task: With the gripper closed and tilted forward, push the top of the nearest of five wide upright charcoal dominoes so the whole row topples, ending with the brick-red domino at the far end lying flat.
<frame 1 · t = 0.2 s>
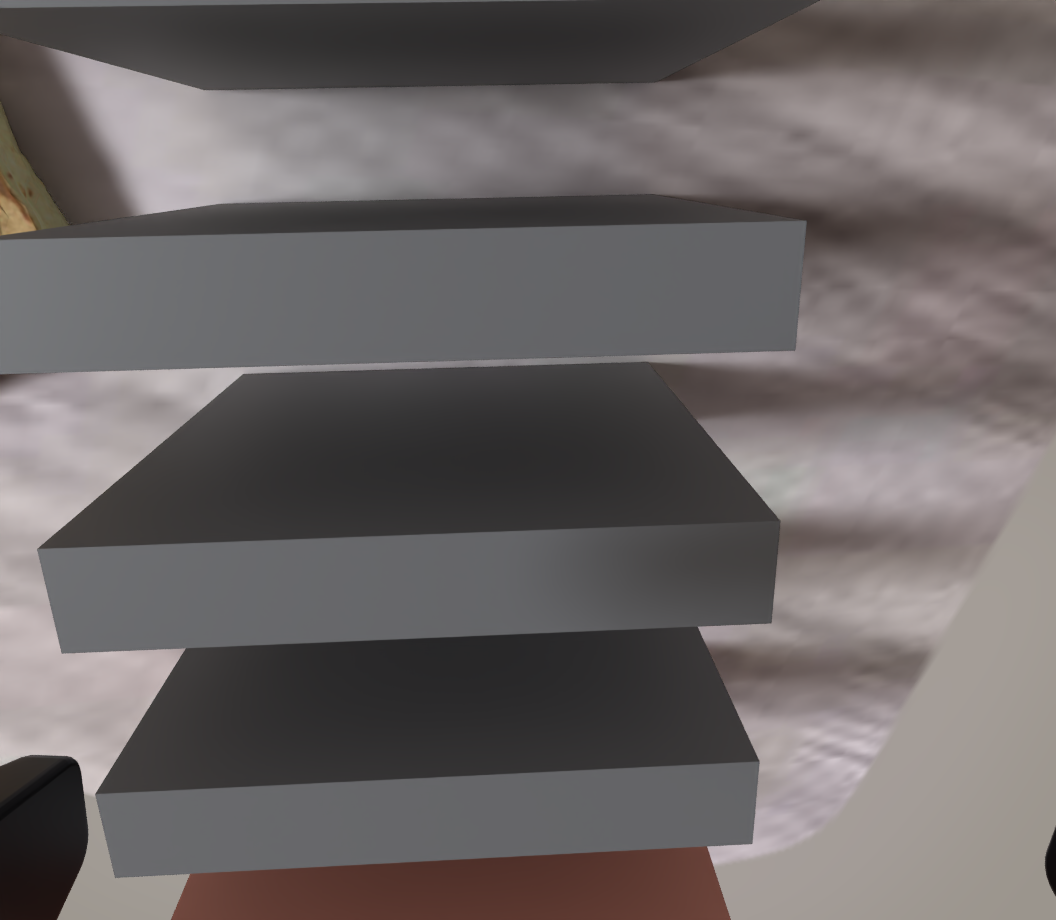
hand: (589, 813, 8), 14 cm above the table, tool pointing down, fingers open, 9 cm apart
domino 4: (456, 543, 22), on the table
domino 1: (430, 46, 18), on the table
domino 3: (448, 399, 21), on the table
domino 2: (440, 234, 20), on the table
domino 5: (463, 672, 24), on the table
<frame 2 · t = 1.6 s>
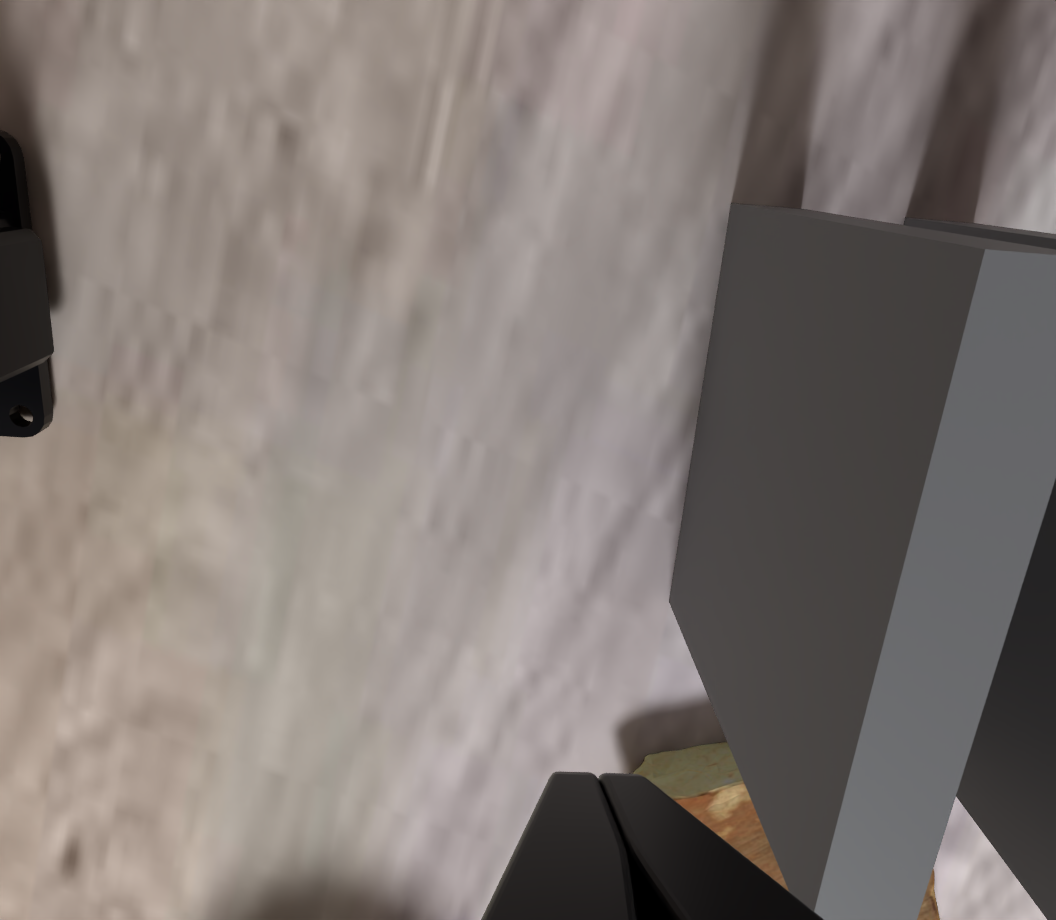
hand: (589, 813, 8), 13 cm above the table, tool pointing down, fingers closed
domino 1: (729, 420, 20), on the table
domino 2: (888, 431, 20), on the table
shard: (821, 827, 26), on the table
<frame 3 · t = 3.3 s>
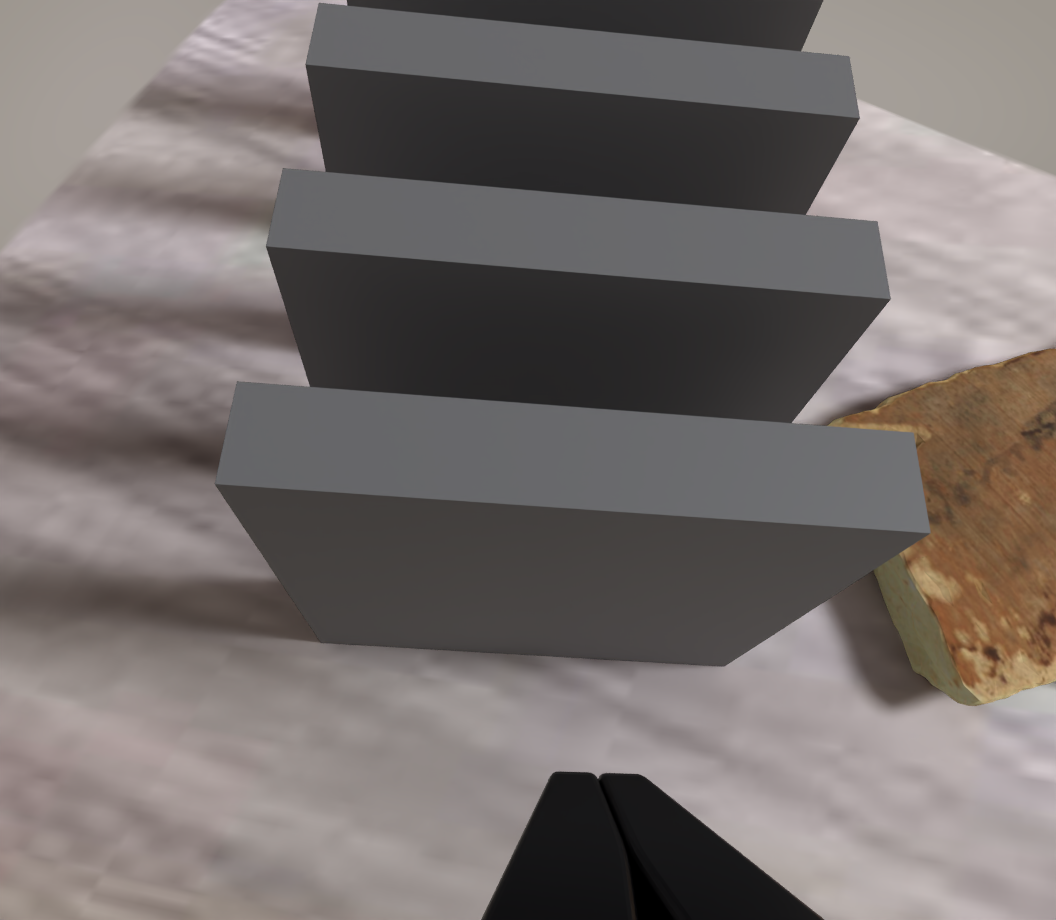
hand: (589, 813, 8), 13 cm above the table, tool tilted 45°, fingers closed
domino 4: (542, 242, 26), on the table
domino 1: (526, 623, 21), on the table
domino 3: (538, 351, 24), on the table
domino 2: (532, 477, 23), on the table
shard: (966, 475, 25), on the table
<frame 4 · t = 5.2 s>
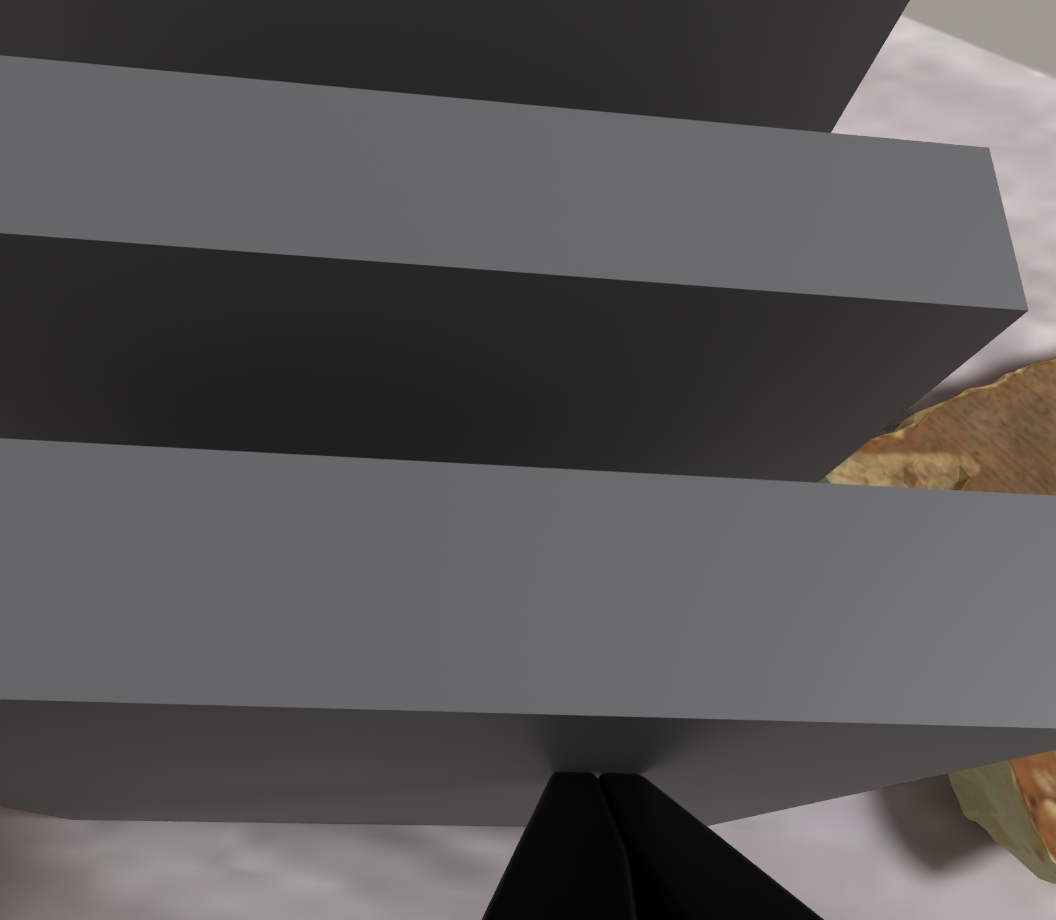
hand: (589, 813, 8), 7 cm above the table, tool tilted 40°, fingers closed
domino 1: (397, 772, 14), on the table, tilted 5°
domino 3: (427, 354, 17), on the table
domino 2: (413, 543, 16), on the table
shard: (1016, 510, 18), on the table
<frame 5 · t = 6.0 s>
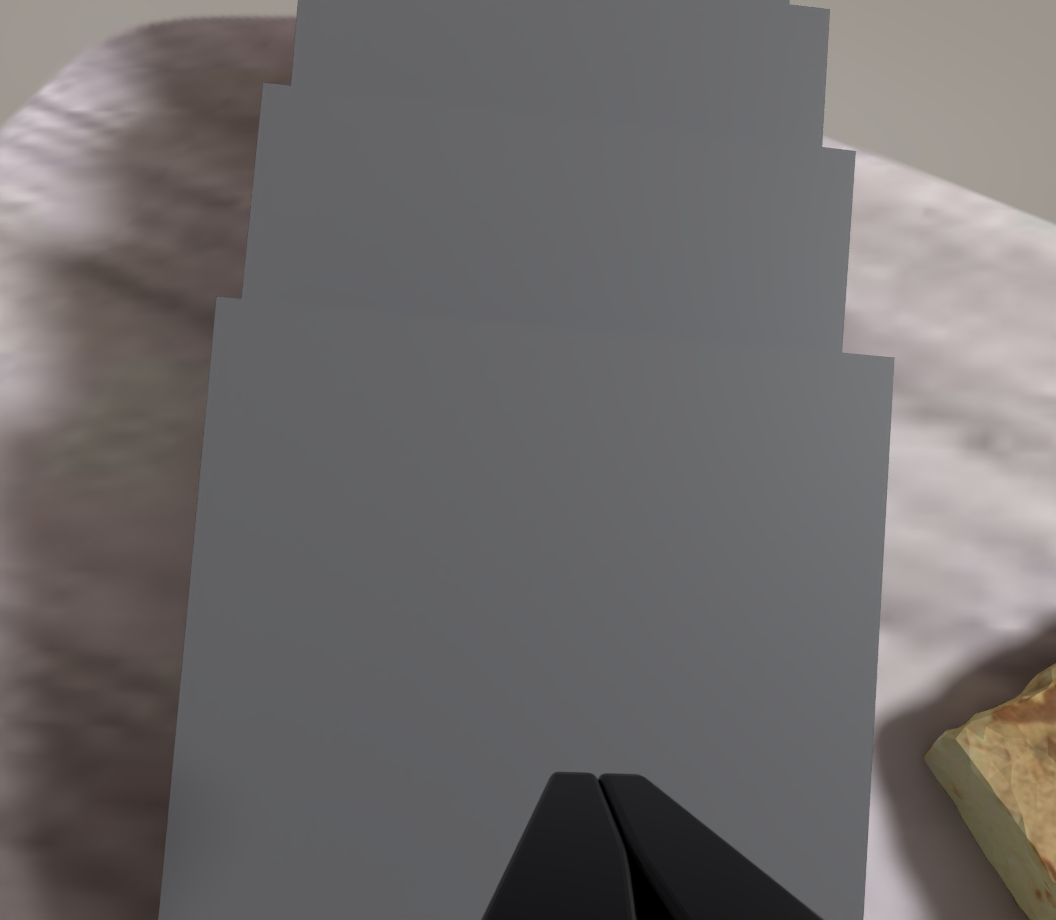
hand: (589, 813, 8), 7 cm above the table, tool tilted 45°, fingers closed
domino 3: (531, 510, 16), point 1 cm above the table, tilted 67°, touching domino 2, domino 4
domino 2: (513, 708, 14), point 1 cm above the table, tilted 67°, touching domino 1, domino 3
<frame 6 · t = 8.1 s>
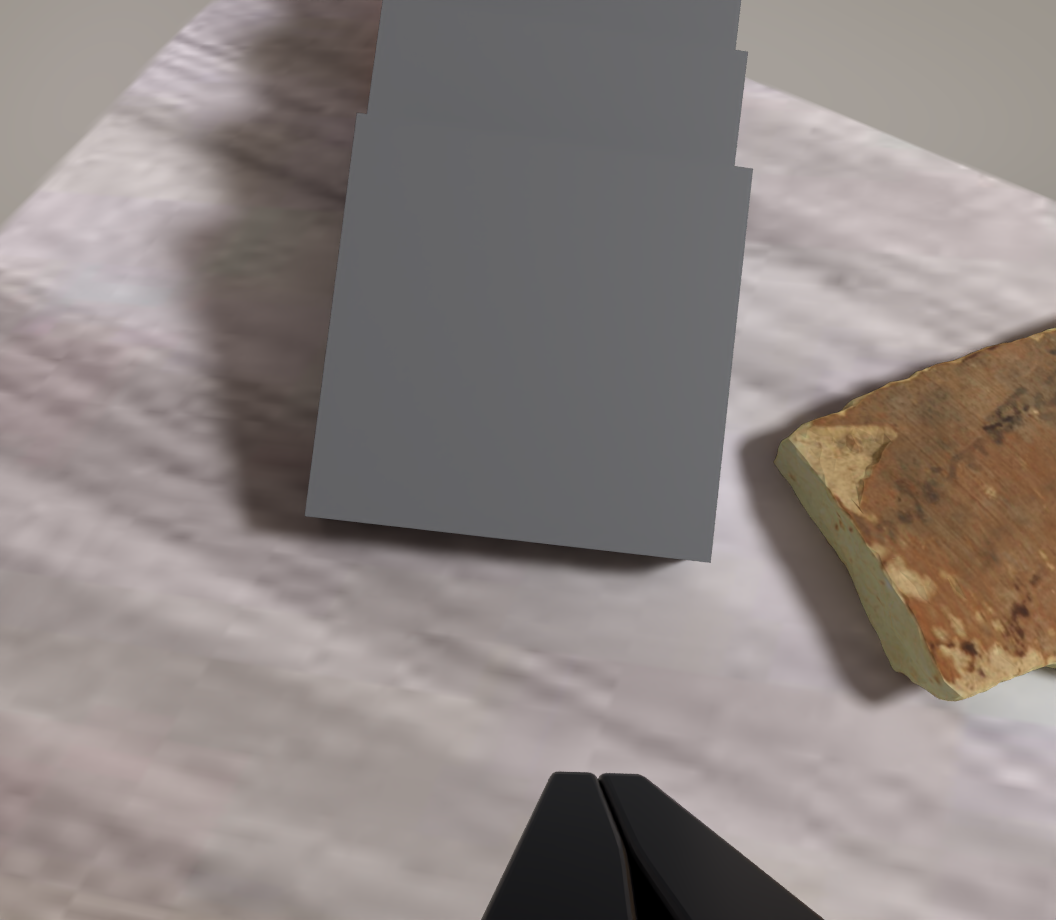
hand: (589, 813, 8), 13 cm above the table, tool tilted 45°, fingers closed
domino 1: (509, 537, 21), point 1 cm above the table, tilted 67°, touching domino 2
domino 3: (534, 275, 25), point 1 cm above the table, tilted 67°, touching domino 2, domino 4
domino 2: (519, 390, 23), point 1 cm above the table, tilted 67°, touching domino 1, domino 3
shard: (931, 470, 25), on the table
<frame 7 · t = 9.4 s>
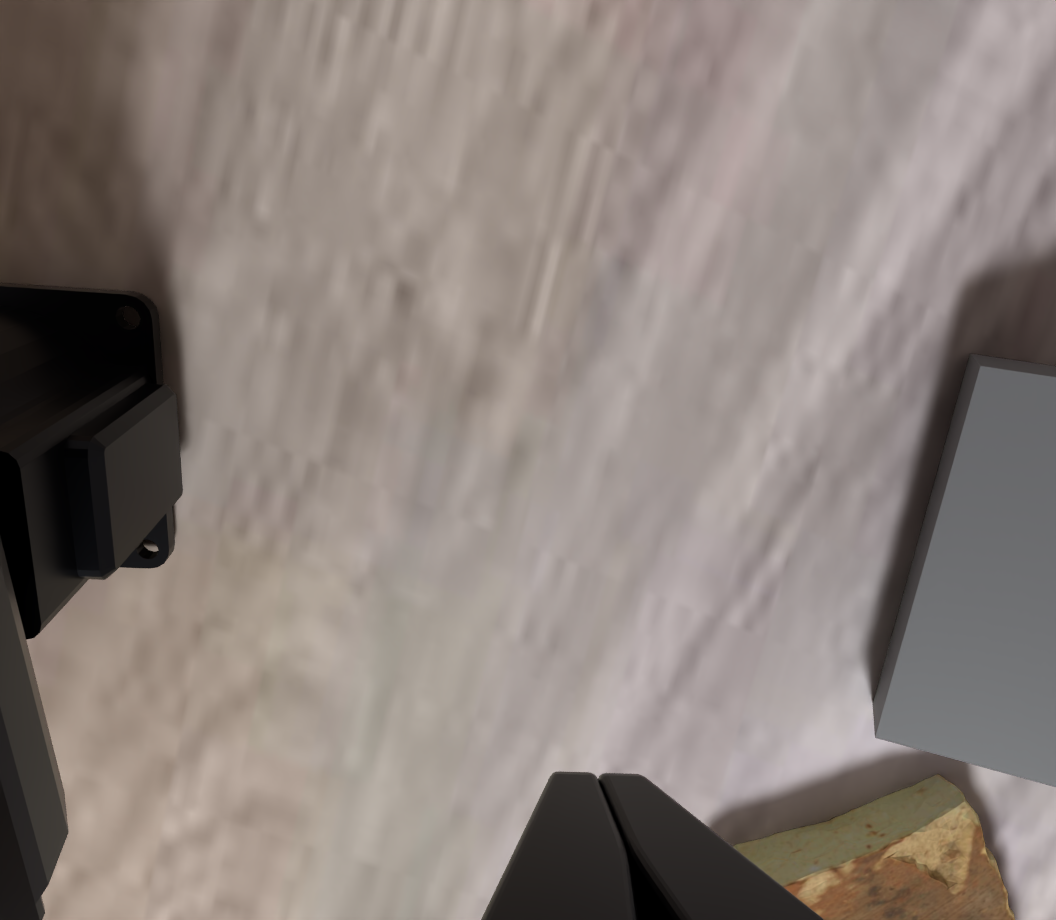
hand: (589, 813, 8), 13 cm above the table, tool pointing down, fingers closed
domino 1: (920, 554, 21), point 1 cm above the table, tilted 67°, touching domino 2
shard: (904, 890, 27), on the table
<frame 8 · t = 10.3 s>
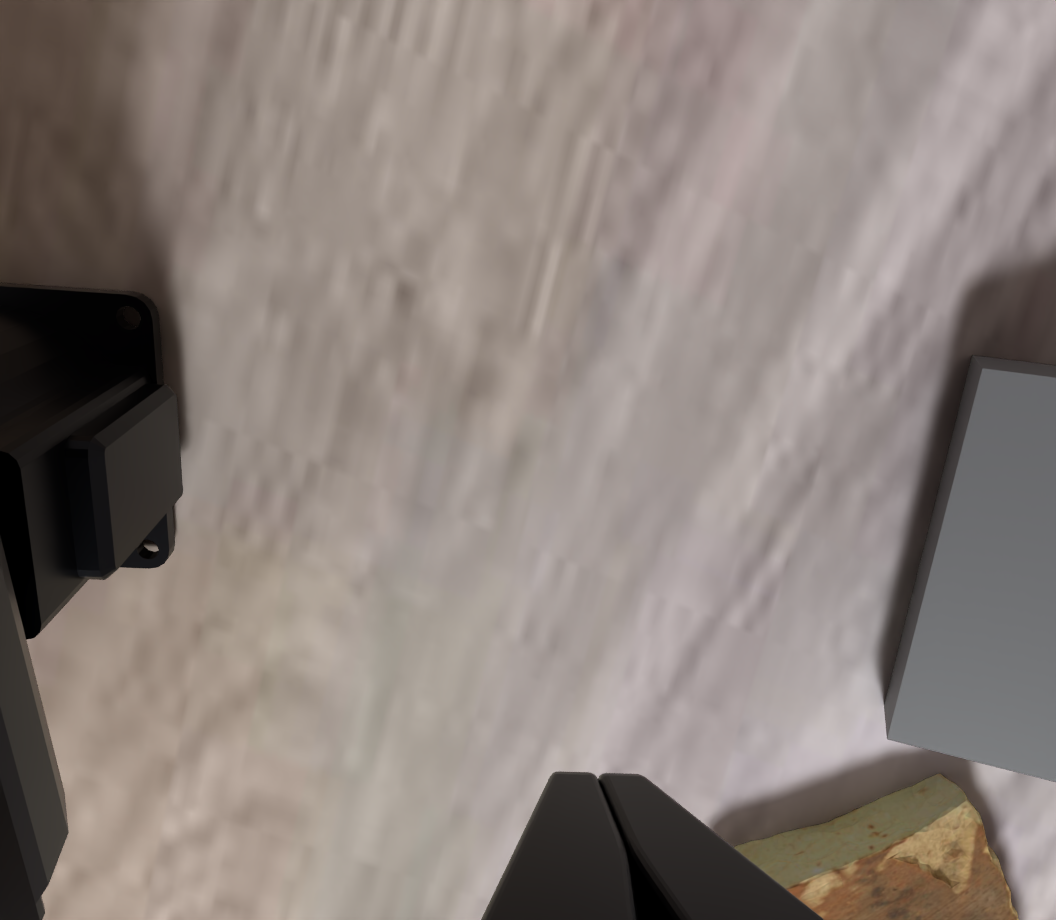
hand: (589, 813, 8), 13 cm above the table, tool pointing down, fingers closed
domino 1: (927, 556, 21), point 1 cm above the table, tilted 67°, touching domino 2
shard: (907, 890, 27), on the table
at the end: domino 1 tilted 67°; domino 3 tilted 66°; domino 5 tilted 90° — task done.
